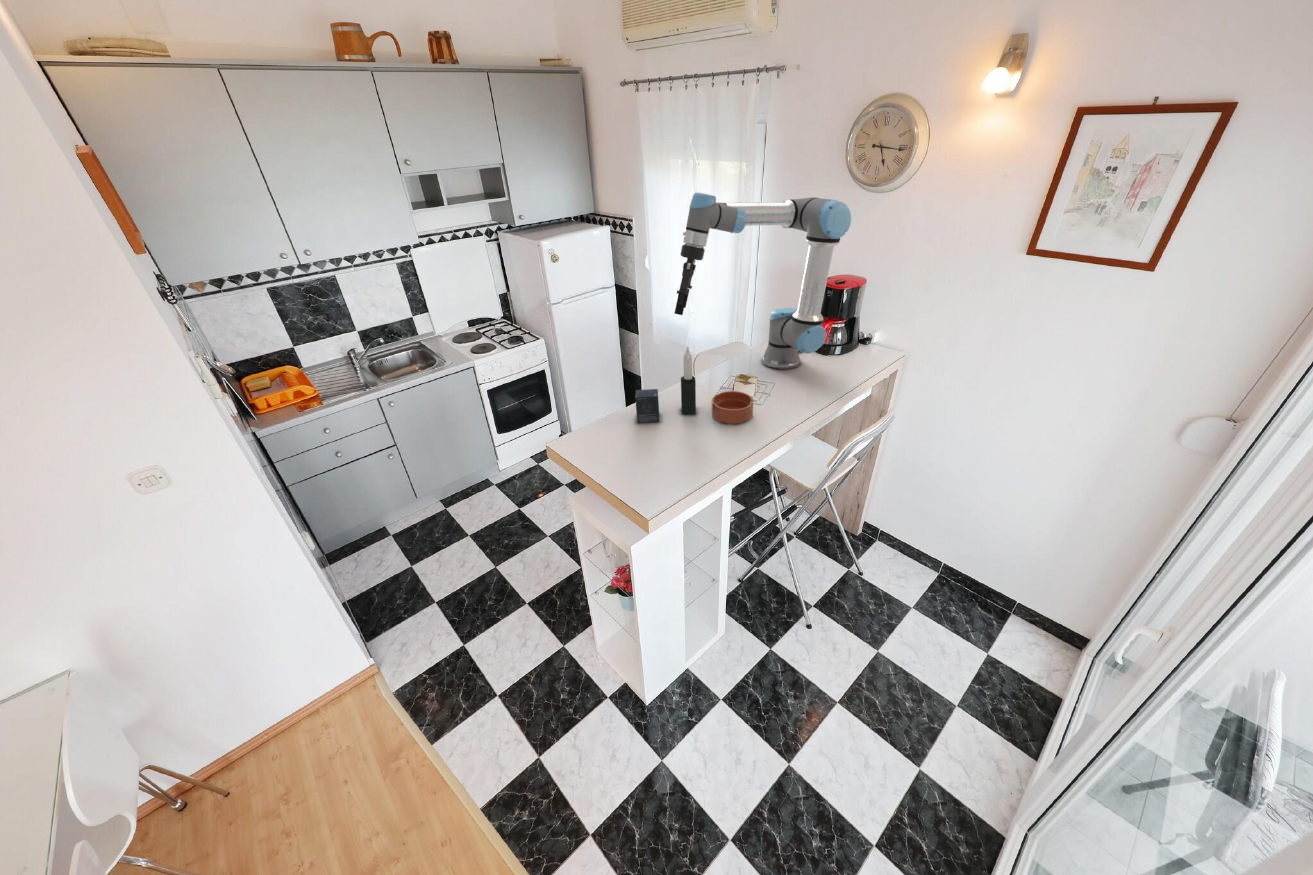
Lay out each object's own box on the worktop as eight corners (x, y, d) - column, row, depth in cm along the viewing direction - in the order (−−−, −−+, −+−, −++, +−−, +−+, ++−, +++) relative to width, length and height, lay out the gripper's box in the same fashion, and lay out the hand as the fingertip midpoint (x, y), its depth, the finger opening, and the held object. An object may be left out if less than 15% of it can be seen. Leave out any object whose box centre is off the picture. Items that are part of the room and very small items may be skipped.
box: (659, 414, 181) (658, 388, 176) (659, 422, 176) (657, 395, 171) (637, 415, 181) (635, 389, 176) (637, 423, 177) (635, 396, 171)
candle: (695, 414, 180) (695, 349, 167) (681, 415, 180) (680, 349, 167) (695, 407, 184) (694, 343, 171) (681, 408, 184) (679, 344, 171)
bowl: (730, 401, 187) (731, 387, 184) (761, 415, 177) (762, 400, 174) (703, 415, 179) (703, 400, 176) (733, 429, 170) (733, 414, 166)
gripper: (685, 240, 173) (673, 302, 183) (679, 245, 151) (665, 315, 160) (706, 245, 173) (693, 306, 182) (703, 251, 151) (688, 320, 160)
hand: (680, 310), depth 171 cm, fingers open, 13 cm apart
